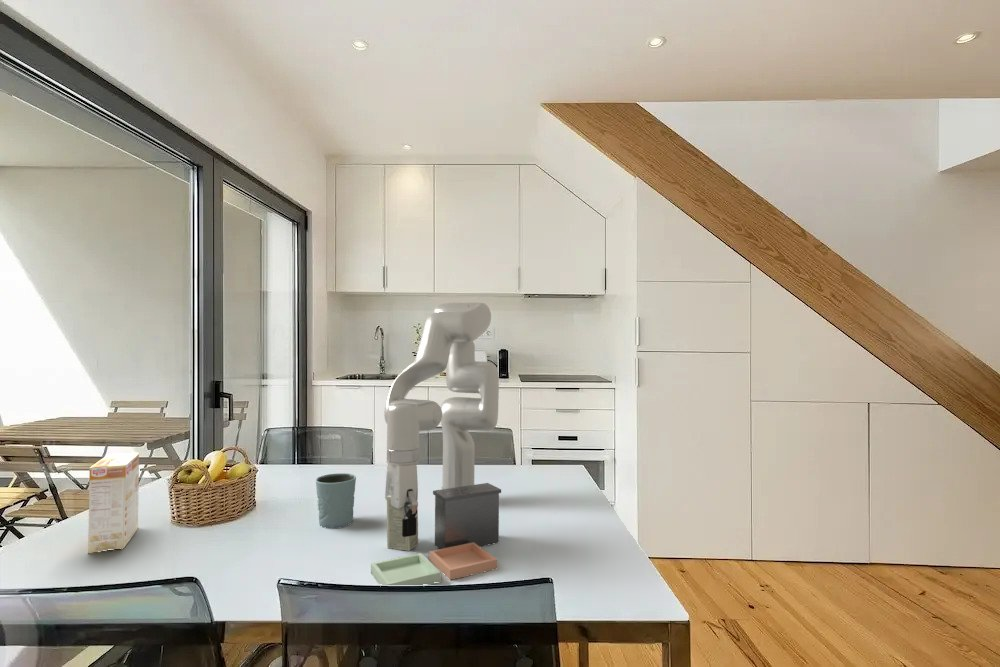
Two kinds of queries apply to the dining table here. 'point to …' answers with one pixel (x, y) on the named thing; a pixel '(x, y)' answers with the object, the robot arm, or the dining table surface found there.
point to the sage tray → (406, 571)
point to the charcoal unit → (467, 515)
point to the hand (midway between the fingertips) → (401, 529)
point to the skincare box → (398, 529)
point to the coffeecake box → (113, 501)
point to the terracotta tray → (462, 560)
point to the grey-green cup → (335, 499)
